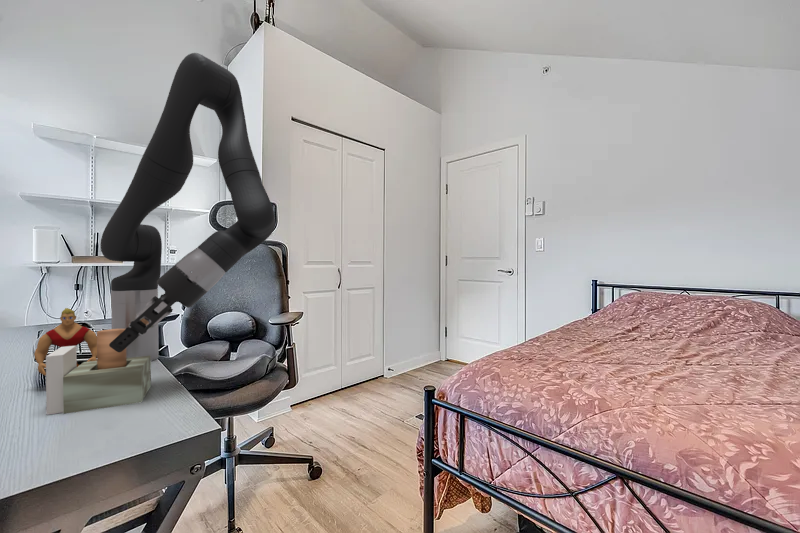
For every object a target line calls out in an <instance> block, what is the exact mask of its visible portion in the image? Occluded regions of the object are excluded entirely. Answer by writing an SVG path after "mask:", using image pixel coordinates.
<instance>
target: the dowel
mask: <svg viewBox="0 0 800 533" xmlns="http://www.w3.org/2000/svg"><path fill="white" fill-rule="evenodd" d="M124 330H125V329H112V328H110V329H101V330H99V331H96V336H97V357H96V358H97V370H100V369H110V368H119V367H126V366H127V358H126V348H125V349H124V350H123V351H122V352H117V351H115V350H114V349H112V348H111V347H110V346H109V344H110V343H111V342H112V341H113V340H114V339H115V338H116V337H117V336H119V335H120V334H121V333H122V332H123V331H124Z"/></svg>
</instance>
